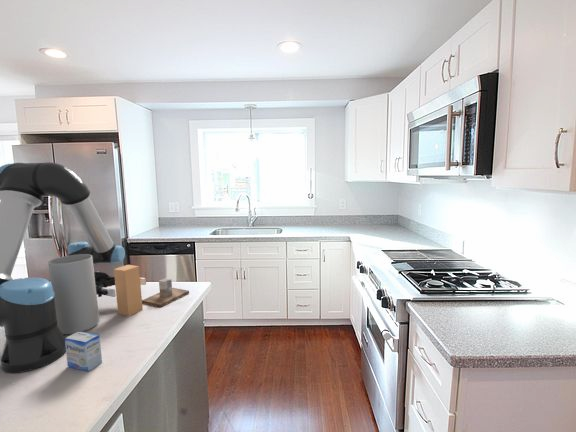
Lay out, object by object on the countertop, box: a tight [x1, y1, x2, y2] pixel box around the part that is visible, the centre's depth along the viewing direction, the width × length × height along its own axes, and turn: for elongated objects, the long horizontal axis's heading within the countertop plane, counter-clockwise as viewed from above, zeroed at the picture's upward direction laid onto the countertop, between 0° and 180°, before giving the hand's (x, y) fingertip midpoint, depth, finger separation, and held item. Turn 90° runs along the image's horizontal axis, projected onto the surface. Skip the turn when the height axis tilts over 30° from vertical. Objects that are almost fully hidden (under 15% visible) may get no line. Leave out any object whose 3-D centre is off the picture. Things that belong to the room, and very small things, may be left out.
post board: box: [142, 277, 190, 308], centre depth 131 cm, size 16×11×8 cm
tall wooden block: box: [113, 264, 143, 317], centre depth 118 cm, size 6×6×18 cm
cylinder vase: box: [48, 254, 100, 335], centre depth 106 cm, size 12×12×25 cm
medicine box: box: [65, 331, 103, 372], centre depth 84 cm, size 8×4×9 cm, turn 73°
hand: (130, 287), depth 118 cm, fingers open, 13 cm apart
